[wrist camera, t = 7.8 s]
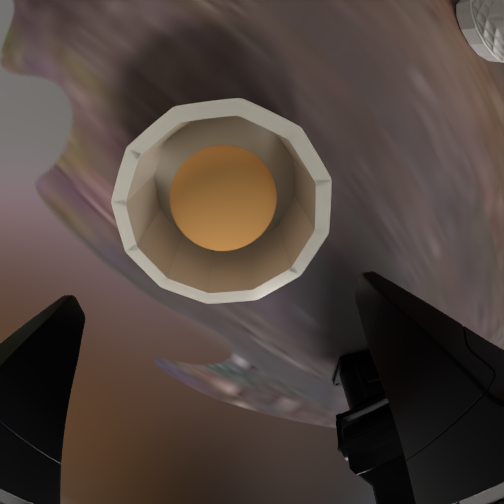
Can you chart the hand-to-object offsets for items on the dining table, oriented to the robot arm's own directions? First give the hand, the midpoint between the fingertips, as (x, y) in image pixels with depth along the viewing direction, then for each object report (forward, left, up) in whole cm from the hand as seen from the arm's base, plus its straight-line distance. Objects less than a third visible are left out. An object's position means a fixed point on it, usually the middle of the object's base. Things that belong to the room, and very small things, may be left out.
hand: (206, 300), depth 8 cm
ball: (0, 0, -9) cm, 9 cm away
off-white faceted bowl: (0, 0, -12) cm, 12 cm away
